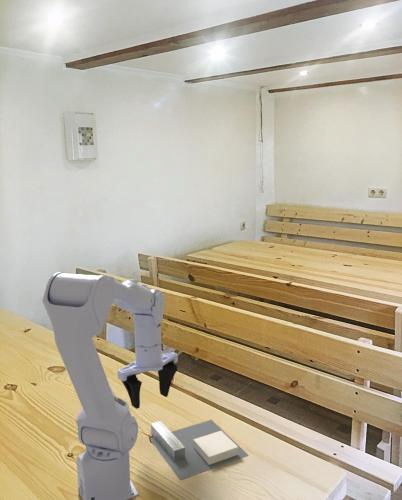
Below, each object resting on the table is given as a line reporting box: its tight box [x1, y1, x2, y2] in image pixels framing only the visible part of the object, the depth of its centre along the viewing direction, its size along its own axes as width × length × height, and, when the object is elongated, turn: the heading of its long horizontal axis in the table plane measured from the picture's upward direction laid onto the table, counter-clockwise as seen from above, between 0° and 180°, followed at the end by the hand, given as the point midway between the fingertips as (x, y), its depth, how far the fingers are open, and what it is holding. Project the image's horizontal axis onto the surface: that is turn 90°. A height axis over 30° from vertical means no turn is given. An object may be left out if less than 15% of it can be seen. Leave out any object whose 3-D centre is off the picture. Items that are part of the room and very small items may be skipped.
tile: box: [193, 431, 238, 465], centre depth 97 cm, size 7×2×7 cm
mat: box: [148, 419, 249, 481], centre depth 99 cm, size 16×16×1 cm
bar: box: [150, 420, 185, 462], centre depth 100 cm, size 2×12×2 cm
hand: (150, 400), depth 101 cm, fingers open, 7 cm apart
